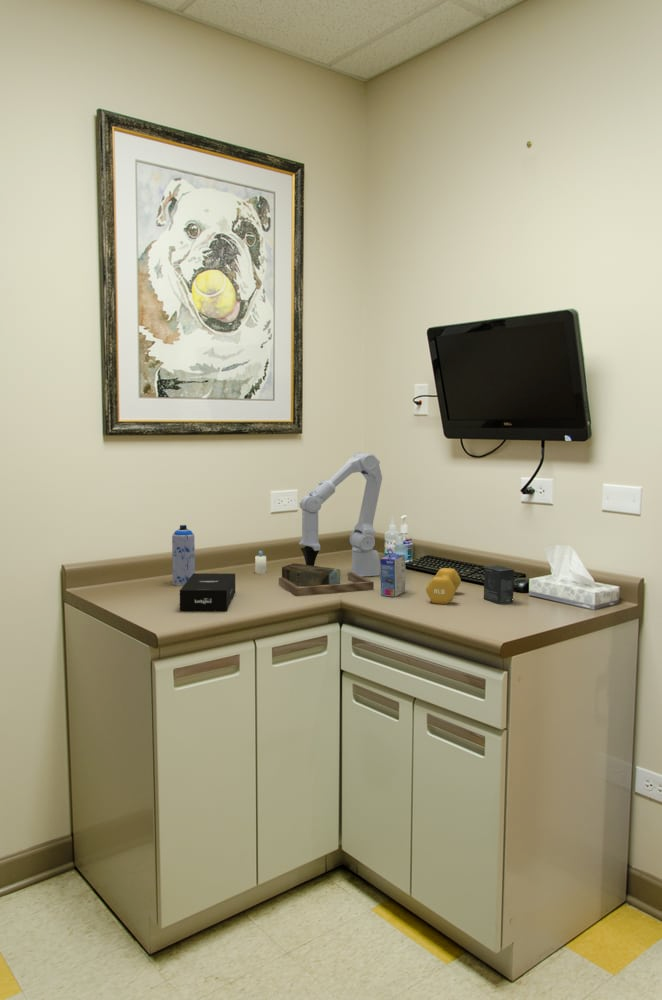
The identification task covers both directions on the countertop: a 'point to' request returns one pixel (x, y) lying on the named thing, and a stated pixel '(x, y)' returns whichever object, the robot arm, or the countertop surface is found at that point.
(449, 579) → the dumbbell
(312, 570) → the beverage carton
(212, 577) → the box
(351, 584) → the display bay
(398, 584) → the ink cartridge box
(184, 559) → the aerosol can
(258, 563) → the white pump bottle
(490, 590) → the box
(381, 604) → the countertop surface
